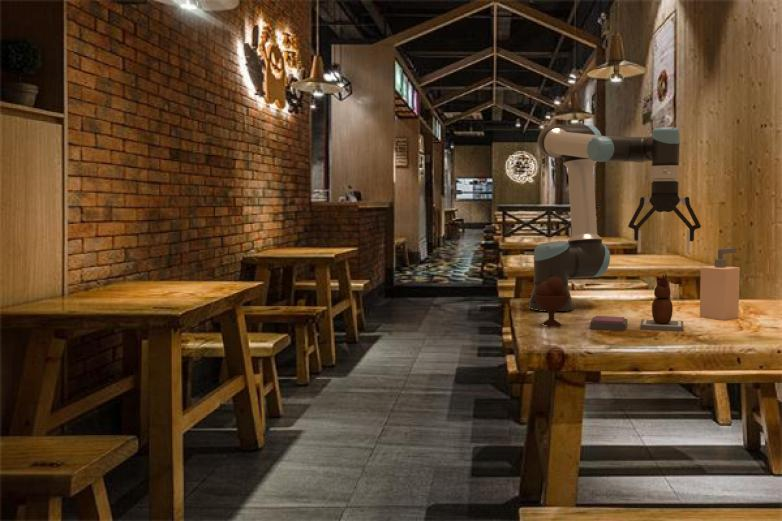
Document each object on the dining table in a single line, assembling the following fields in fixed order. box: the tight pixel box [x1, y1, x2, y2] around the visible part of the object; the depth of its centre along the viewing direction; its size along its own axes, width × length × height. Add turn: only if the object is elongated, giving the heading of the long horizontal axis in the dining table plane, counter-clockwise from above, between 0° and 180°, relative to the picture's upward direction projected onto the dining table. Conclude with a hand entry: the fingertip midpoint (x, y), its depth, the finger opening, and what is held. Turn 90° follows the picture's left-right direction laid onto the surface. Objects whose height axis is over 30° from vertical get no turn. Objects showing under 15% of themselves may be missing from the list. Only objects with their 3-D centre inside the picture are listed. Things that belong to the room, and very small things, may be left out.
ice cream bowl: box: [533, 277, 571, 327], centre depth 234 cm, size 11×11×15 cm
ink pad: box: [589, 315, 628, 332], centre depth 230 cm, size 10×10×3 cm
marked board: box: [639, 318, 685, 332], centre depth 229 cm, size 12×12×1 cm
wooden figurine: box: [651, 273, 674, 324], centre depth 229 cm, size 7×6×15 cm
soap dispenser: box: [699, 247, 741, 321], centre depth 246 cm, size 13×9×22 cm
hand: (663, 252), depth 228 cm, fingers open, 13 cm apart
